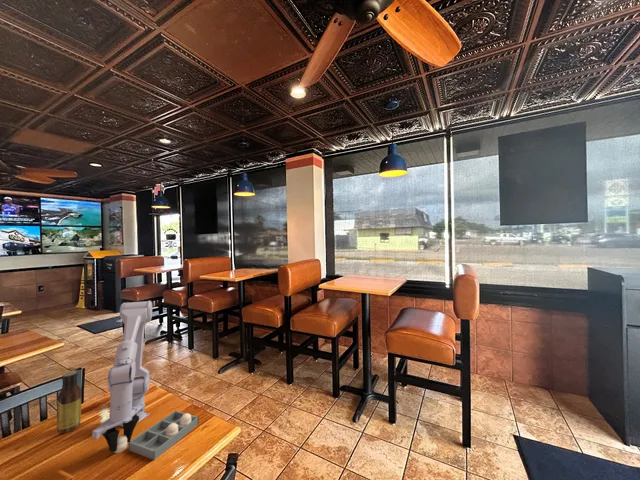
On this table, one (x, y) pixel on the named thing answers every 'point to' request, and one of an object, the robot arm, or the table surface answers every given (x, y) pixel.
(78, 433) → the table surface
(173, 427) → the egg
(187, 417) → the egg
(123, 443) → the egg
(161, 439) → the carton
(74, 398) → the sauce bottle
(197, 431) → the table surface
